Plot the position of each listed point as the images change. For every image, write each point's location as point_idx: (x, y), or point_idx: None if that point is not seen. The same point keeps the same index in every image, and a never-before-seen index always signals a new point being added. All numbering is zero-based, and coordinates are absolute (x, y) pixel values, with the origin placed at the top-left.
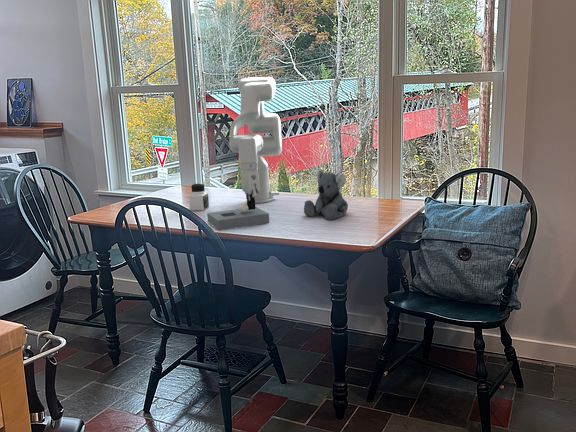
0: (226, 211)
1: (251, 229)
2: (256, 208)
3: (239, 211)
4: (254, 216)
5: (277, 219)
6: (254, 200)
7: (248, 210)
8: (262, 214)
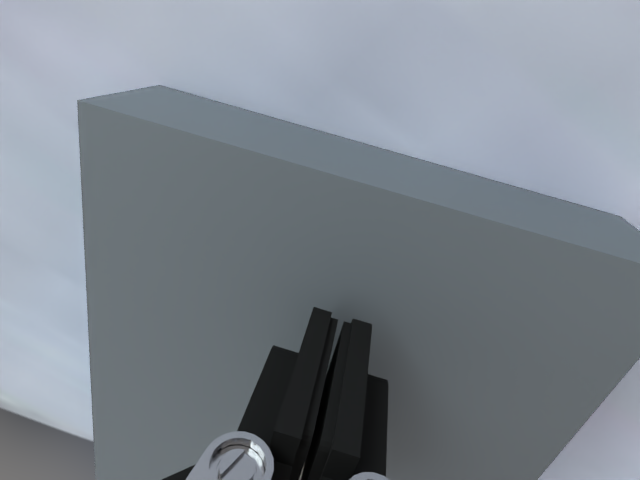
0: (141, 456)
1: (624, 460)
2: (225, 180)
3: (231, 404)
4: (561, 434)
5: (605, 9)
6: (355, 452)
7: (261, 324)
8: (632, 363)
